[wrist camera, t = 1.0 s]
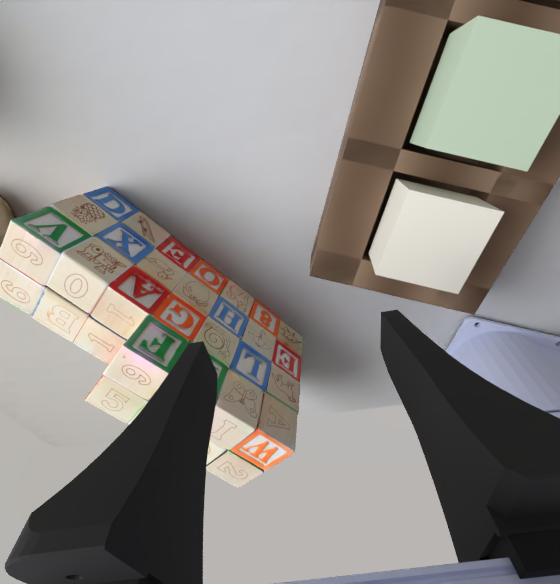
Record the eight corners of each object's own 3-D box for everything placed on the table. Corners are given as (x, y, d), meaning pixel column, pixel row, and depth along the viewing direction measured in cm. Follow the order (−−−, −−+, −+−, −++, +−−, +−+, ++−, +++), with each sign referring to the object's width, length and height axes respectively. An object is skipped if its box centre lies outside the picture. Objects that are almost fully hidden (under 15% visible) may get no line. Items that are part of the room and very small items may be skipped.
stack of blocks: (79, 238, 28) (-69, 314, 18) (108, 183, 26) (-47, 233, 15) (265, 371, 33) (238, 492, 23) (306, 337, 31) (296, 457, 20)
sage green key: (547, 56, 16) (599, 43, 13) (494, 162, 18) (527, 171, 15) (449, 34, 16) (478, 15, 13) (409, 142, 18) (425, 148, 15)
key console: (706, -172, 14) (831, -266, 11) (454, 287, 26) (474, 314, 23) (443, -232, 14) (482, -344, 11) (311, 254, 26) (309, 275, 23)
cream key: (476, 196, 19) (504, 212, 16) (439, 269, 22) (458, 294, 19) (396, 178, 19) (409, 189, 16) (368, 253, 22) (375, 274, 19)
